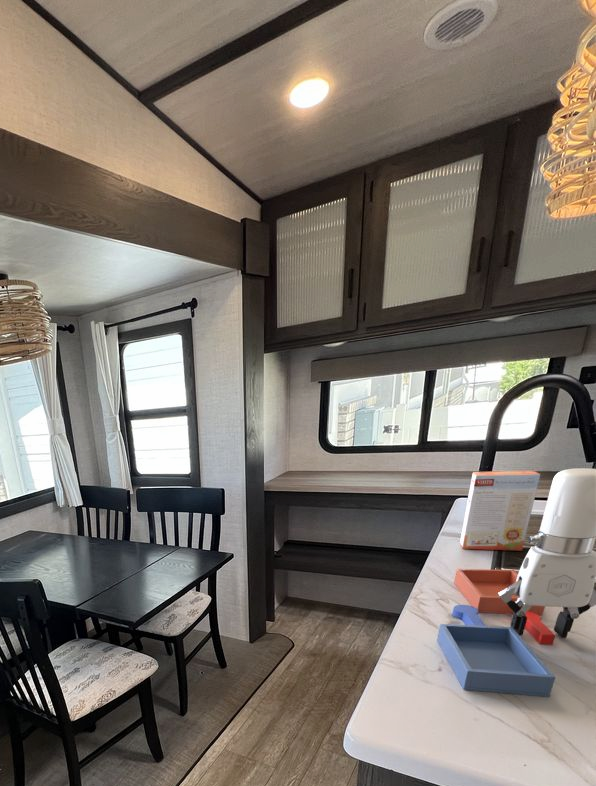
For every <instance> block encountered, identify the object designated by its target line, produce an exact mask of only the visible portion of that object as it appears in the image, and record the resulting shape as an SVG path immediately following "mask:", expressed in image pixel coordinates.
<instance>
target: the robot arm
mask: <svg viewBox="0 0 596 786" xmlns="http://www.w3.org/2000/svg"><path fill="white" fill-rule="evenodd" d="M549 489H550V490H549V493H548V497H547V501H546V504H545V509H544V512H543V516H542V519H541V524H540V527H539V530H538V531H537V534H535V535H529V536H528V538H527V543H528V544H533V545H534V546H531V547H530V549H529V550H528V552H527V553H526V555H525V557H524V559H523V561H522V563H521V565H520V568H519V571H518V576H517V580H516V582H515V583H513V584H512V585H510V586H509V587H507V588H506V589H504V590H502V591H501V592H499V593H498V596H499V597H500V598H501V599H502V600H503V601H504V602H505V603H506V604H507V605H508V606H509V607H510V608H511V609H512V610H513V611H514V612H513V614H512V615H511V621H510V624H509V625H510V626H509V627H512V628H513V629H514V630H515V631H516V632H517V634H518V635H519V636H520V637H521V636H524V632H525V630H526V629H525V625H526V621H527V617H526V616H525V614H526V612H527V611H528V610H529V609H530V608H531V607H532V606H545V607H551V608H552V607H553V608H562V611H560V612H559V613H558V615H557V617H556V620H555V624H554V627H553V631H554V632H555V633H556V635H558V636H559V637H560V638H562V639H567V636H568V634H569V633H570V632H571V630H572V627H573V624H574V621H575V620H577V619H578V618H579V617H580V615H581V614H583V613H584V614H585V612H587V611H589V610H590V609H591V608H592V607H594V606H596V590H595V589H594V588H595V583H596V551H595V550H593V549H594V546H595V542H596V468H587V467H585V468H582V467H580V468H579V467H577V468H569V469H563V470H561V471H559V472H557V473H556V474H555V475H554V477H553V479H552V481H551V485H550V488H549ZM514 594H515V595H517V596H520V597H519V598H518V600H517V601H516V602H514V601H513V600H512V599H511V596H512V595H514Z"/></svg>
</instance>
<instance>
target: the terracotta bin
mask: <svg viewBox="0 0 596 786" xmlns="http://www.w3.org/2000/svg"><path fill="white" fill-rule="evenodd" d="M518 574H519V572H517V571H515V569H487V568H485V569H483V568H482V569H481V568H478V569H477V568H475V569H474V568H457V569H456V571H455V576H454V581H453V583H454V585H455V586H456V588H458V590H459V591H460V592H461V594H462V595H463V596H464V598H465V599H466V600H467V602H468V603H469V604H470V606H473V607H475V608H477V609H478V611H479V612H478V614H479V613H480V614H505V615H506V614H507V615H508V614H509V615H513V612H514V611H513V610H512V609H511V608H510V607H509V606H508V605H507V604H506V603H505V602H504V601H503V600H502V599H501V598H500V597H499V596H498V593H499V592H501V591H502V590H504V589H506V588H507V587H509V586H510V585H512V584H513V583H515V582H516V580H517V576H518ZM519 597H520V596H517V595H515V594H514V595H512V596H511V599H512V600H513V601H514V602H516V601H517V600H518V598H519ZM545 608H546V606H532V607H531V608H530V609H529V610H528V611H527V612H532V613H535V614H537V615H539V616H543V615H544V611H545Z"/></svg>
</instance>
